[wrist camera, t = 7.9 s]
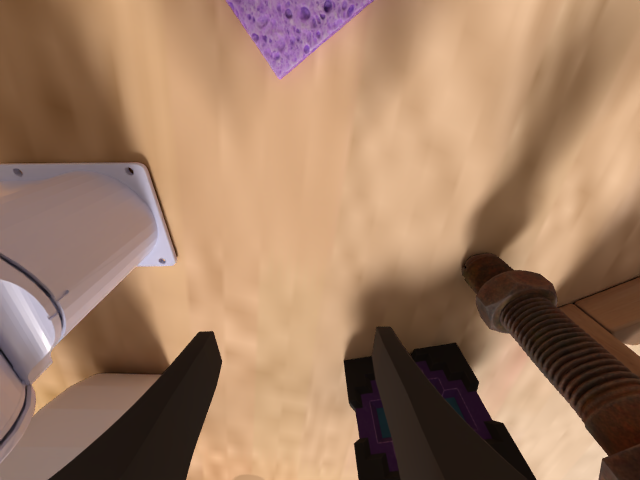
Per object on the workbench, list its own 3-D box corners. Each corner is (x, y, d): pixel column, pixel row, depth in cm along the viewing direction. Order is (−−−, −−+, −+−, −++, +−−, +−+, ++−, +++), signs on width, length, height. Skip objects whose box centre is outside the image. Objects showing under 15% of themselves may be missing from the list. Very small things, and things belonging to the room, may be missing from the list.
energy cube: (343, 360, 28) (363, 518, 17) (455, 342, 27) (547, 497, 17) (357, 416, 34) (378, 560, 23) (450, 403, 33) (515, 546, 22)
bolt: (487, 225, 20) (811, 464, 7) (524, 255, 22) (848, 496, 9) (432, 275, 22) (603, 526, 9) (470, 299, 24) (661, 543, 11)
